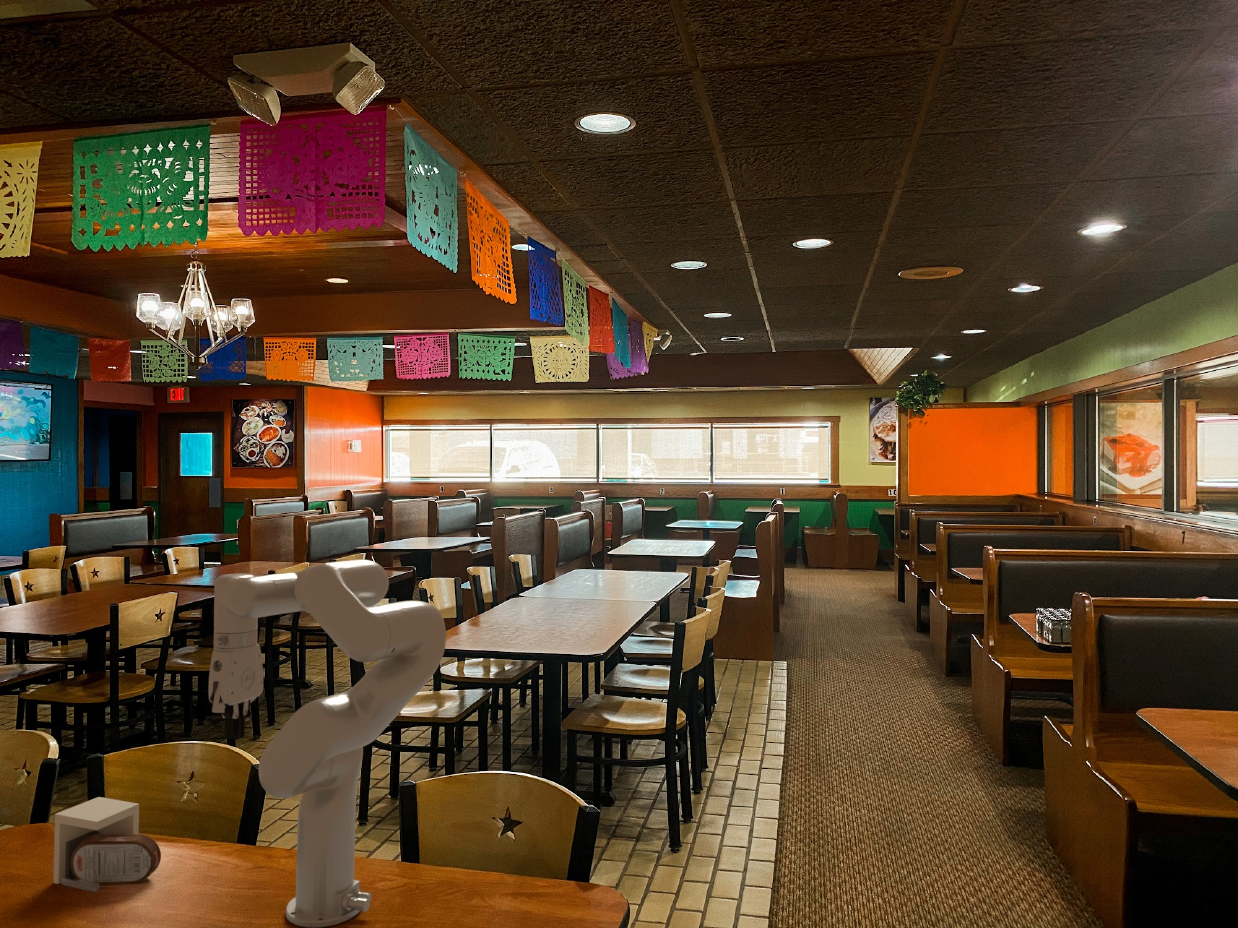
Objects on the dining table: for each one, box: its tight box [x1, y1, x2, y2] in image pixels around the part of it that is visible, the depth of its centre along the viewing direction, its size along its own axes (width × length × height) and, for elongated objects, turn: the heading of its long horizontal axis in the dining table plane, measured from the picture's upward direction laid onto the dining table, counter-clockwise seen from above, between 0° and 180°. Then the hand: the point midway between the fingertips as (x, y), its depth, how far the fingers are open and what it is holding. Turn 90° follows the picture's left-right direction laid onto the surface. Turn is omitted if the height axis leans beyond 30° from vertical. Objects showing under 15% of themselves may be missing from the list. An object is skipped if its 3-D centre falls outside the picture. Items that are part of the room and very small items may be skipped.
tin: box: [70, 833, 162, 885], centre depth 159 cm, size 15×3×8 cm, turn 95°
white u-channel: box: [53, 796, 140, 893], centre depth 161 cm, size 10×9×12 cm
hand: (234, 737), depth 163 cm, fingers closed
